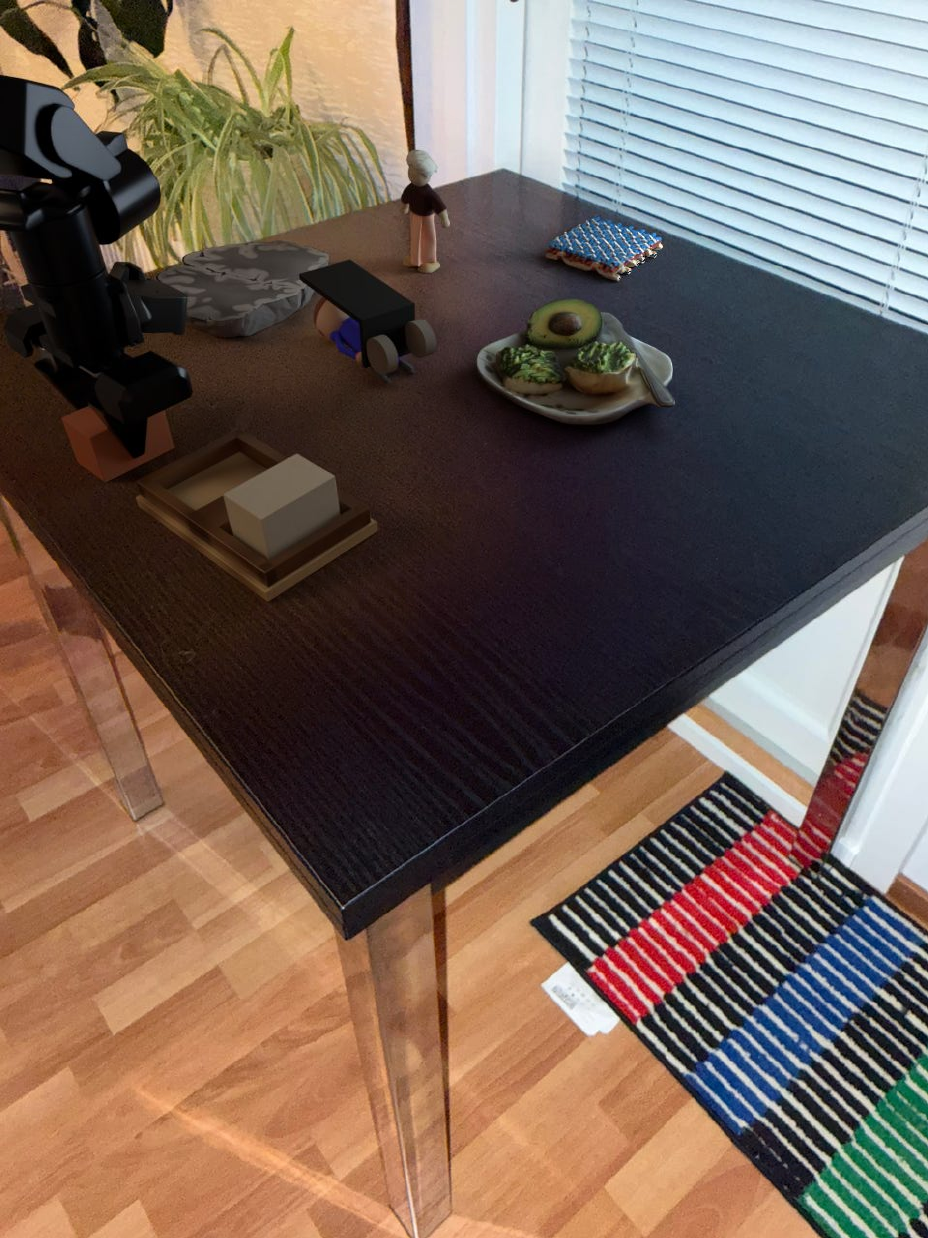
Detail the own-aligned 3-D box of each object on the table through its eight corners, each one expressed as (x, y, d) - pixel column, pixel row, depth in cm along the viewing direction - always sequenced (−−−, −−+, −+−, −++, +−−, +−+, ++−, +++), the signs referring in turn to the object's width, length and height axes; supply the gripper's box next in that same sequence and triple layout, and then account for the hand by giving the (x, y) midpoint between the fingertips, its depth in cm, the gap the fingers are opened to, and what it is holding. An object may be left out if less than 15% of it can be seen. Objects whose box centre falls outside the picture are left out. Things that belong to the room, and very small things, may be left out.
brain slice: (231, 254, 111) (226, 229, 109) (353, 279, 105) (350, 253, 103) (121, 325, 98) (113, 298, 96) (252, 358, 93) (247, 330, 91)
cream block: (271, 567, 69) (260, 519, 66) (234, 541, 71) (222, 494, 68) (342, 523, 72) (335, 475, 69) (304, 499, 75) (296, 452, 71)
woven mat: (540, 259, 108) (541, 242, 107) (592, 230, 114) (593, 213, 113) (615, 283, 104) (617, 265, 102) (665, 252, 109) (667, 234, 108)
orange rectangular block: (105, 483, 78) (89, 437, 75) (77, 462, 81) (60, 417, 77) (174, 447, 82) (162, 403, 79) (146, 429, 84) (133, 384, 81)
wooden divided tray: (378, 531, 73) (375, 506, 71) (267, 602, 67) (261, 577, 66) (246, 449, 82) (241, 425, 80) (138, 506, 76) (130, 481, 74)
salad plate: (728, 391, 87) (737, 346, 84) (591, 462, 79) (595, 415, 76) (585, 317, 98) (588, 275, 95) (451, 373, 90) (450, 329, 87)
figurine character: (440, 387, 91) (353, 317, 98) (443, 318, 85) (350, 249, 93) (385, 411, 88) (299, 337, 95) (384, 341, 82) (293, 268, 90)
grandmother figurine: (388, 265, 108) (379, 149, 99) (407, 253, 110) (400, 139, 101) (442, 280, 105) (439, 162, 96) (461, 268, 107) (459, 151, 98)
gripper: (228, 270, 69) (263, 446, 80) (95, 207, 78) (143, 373, 89) (96, 323, 63) (153, 505, 74) (-31, 249, 73) (37, 420, 84)
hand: (123, 445), depth 81 cm, fingers closed on orange rectangular block, 4 cm apart
